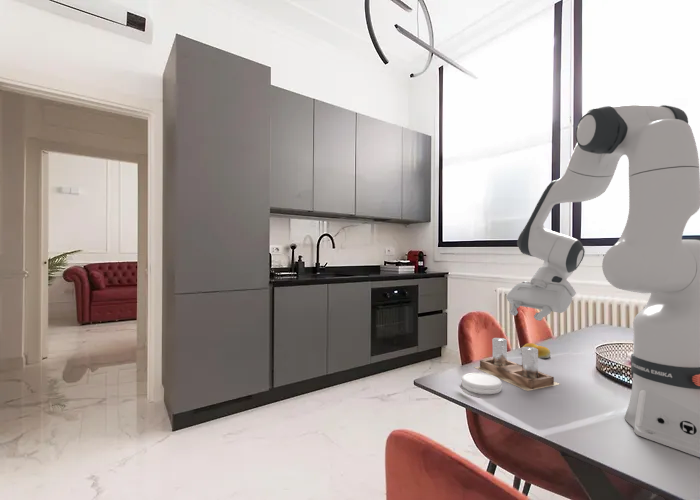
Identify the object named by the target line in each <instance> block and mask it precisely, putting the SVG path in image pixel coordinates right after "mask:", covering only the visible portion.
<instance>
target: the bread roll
mask: <svg viewBox="0 0 700 500" xmlns="http://www.w3.org/2000/svg"><path fill="white" fill-rule="evenodd" d="M522 347H533V348H537V349H538V359H549V358H550V357H551V351H550V349H549V348H548V347H545V346H543V345H537V344H535V343H532V342H529V343H528V342H527V343H525V344H524V345H523V346H522ZM522 347H521V348H520V351H521V353H522Z"/></svg>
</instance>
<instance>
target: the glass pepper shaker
mask: <svg viewBox="0 0 700 500" xmlns="http://www.w3.org/2000/svg"><path fill="white" fill-rule="evenodd" d="M491 341H492V343H491V344H492V358H493V364H494V365H496V366H499V367H501V366H507V360H508V342H507V341H508V339H506V338H504V337H493V338H491Z"/></svg>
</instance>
